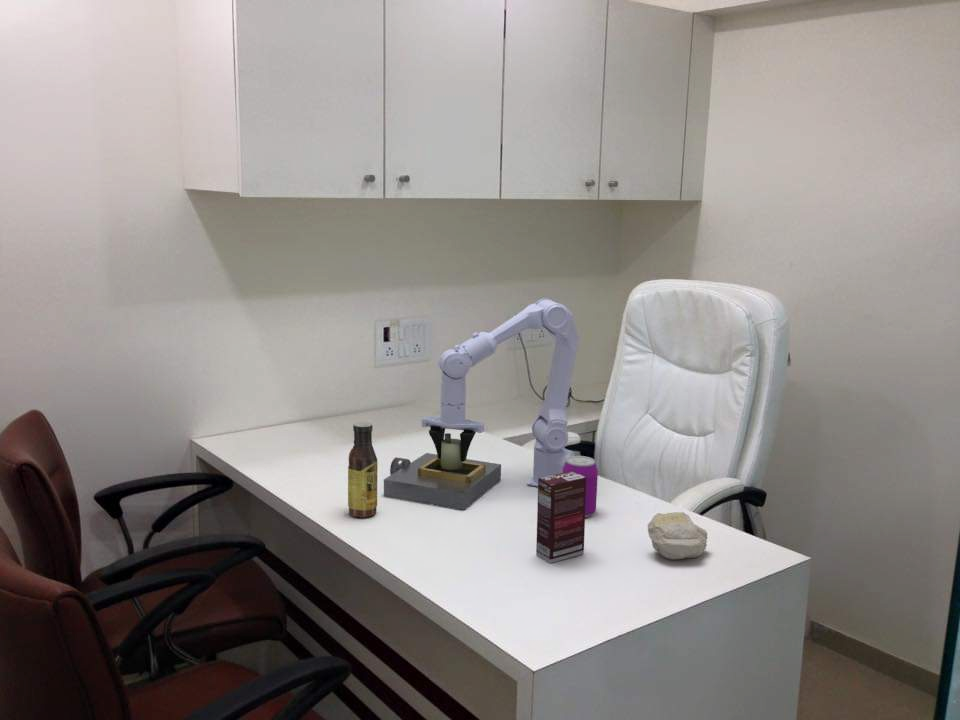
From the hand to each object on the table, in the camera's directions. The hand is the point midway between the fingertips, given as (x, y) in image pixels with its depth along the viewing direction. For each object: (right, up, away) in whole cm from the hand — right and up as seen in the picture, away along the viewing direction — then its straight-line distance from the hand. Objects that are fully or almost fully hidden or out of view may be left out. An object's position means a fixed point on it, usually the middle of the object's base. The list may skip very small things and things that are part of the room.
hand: (452, 459), depth 202 cm
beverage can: (+28, -11, -11) cm, 32 cm away
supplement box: (+22, -15, -33) cm, 42 cm away
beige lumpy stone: (+45, -15, -32) cm, 57 cm away
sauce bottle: (-19, -10, -14) cm, 26 cm away
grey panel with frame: (-3, -7, +3) cm, 8 cm away
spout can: (0, -2, 0) cm, 2 cm away
